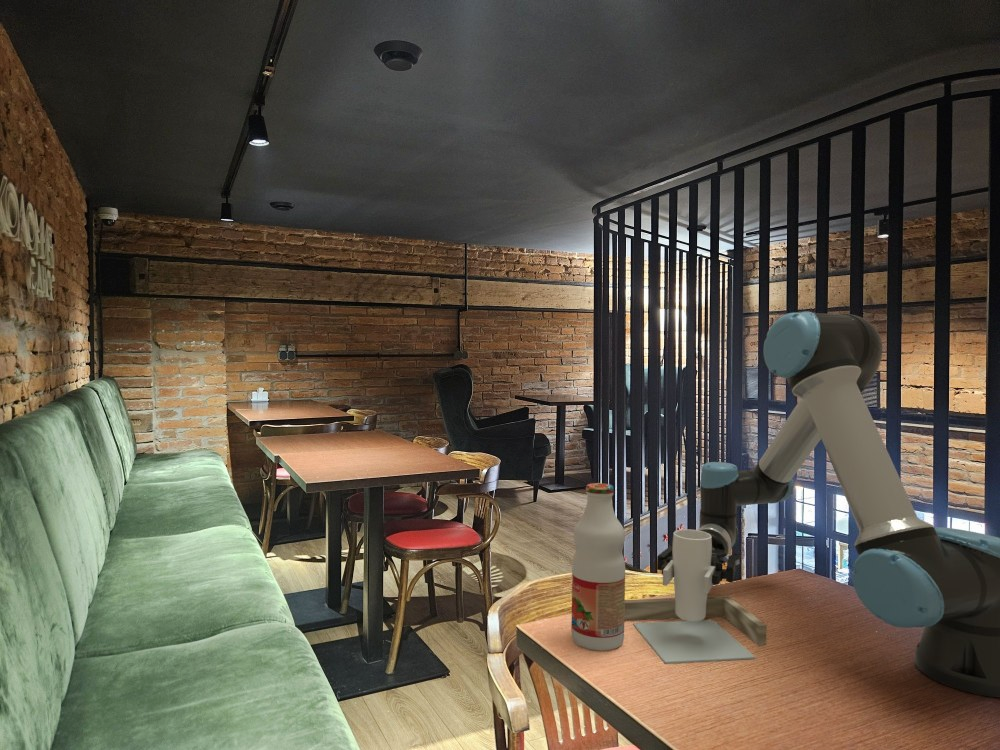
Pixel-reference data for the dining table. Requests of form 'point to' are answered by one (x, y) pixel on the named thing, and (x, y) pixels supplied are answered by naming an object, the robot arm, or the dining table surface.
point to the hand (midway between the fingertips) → (685, 581)
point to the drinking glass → (691, 572)
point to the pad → (692, 641)
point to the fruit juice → (598, 574)
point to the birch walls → (714, 608)
